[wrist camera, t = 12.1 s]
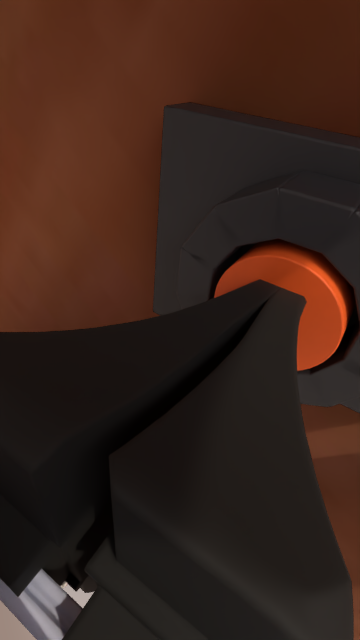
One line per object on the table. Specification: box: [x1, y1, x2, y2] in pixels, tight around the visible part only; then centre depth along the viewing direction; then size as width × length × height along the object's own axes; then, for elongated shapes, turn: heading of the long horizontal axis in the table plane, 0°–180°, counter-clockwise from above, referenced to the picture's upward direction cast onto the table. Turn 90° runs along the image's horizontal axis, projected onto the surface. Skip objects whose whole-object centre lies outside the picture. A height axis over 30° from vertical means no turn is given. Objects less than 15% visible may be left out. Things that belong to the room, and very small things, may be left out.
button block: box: [153, 102, 360, 413], centre depth 11 cm, size 11×8×4 cm
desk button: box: [214, 239, 356, 371], centre depth 10 cm, size 4×4×2 cm
